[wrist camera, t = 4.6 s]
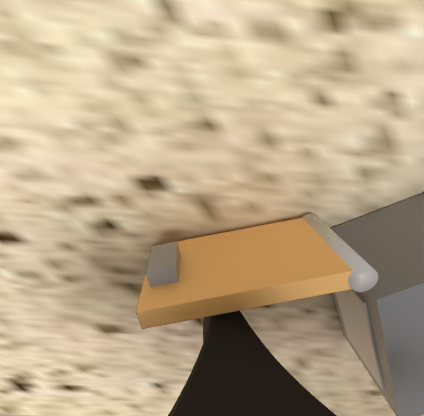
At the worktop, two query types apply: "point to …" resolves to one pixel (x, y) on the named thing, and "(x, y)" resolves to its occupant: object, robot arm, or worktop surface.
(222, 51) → the worktop surface
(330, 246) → the side door
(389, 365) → the camera body
